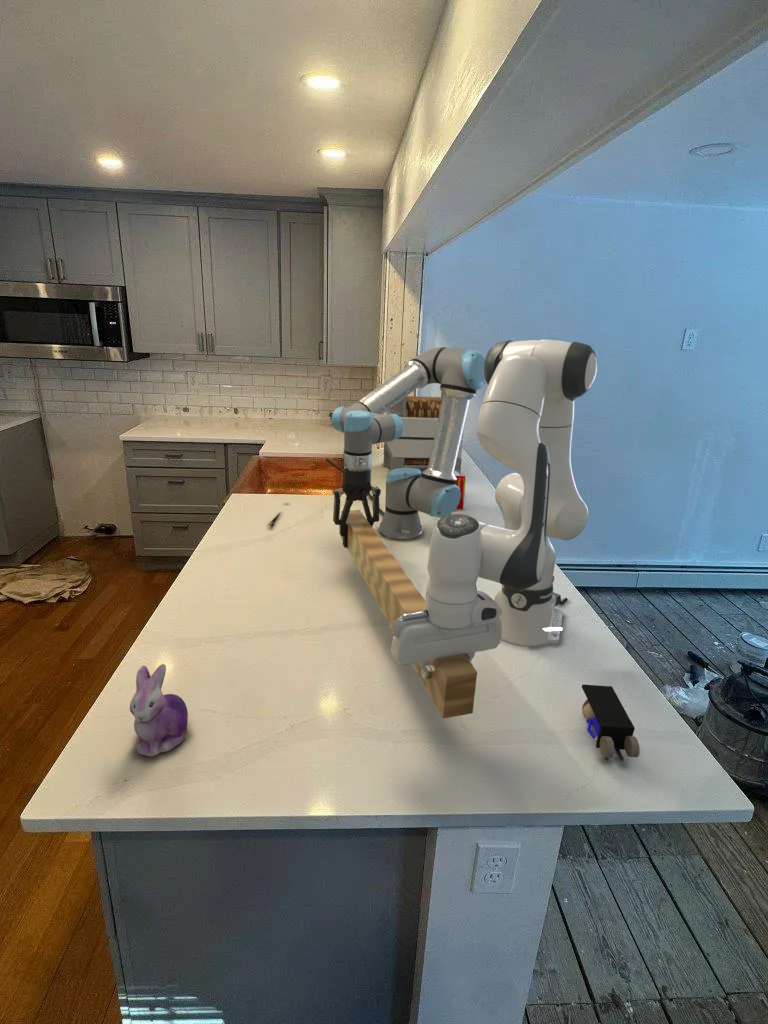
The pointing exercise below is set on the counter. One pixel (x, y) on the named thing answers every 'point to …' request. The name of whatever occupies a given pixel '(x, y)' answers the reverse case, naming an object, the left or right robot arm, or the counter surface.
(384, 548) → the post
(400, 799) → the counter surface
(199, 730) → the counter surface
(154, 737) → the figurine
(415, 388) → the left robot arm
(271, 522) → the feather
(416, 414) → the grey boxy frame
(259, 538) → the counter surface
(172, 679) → the counter surface
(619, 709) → the figurine character
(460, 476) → the toy
